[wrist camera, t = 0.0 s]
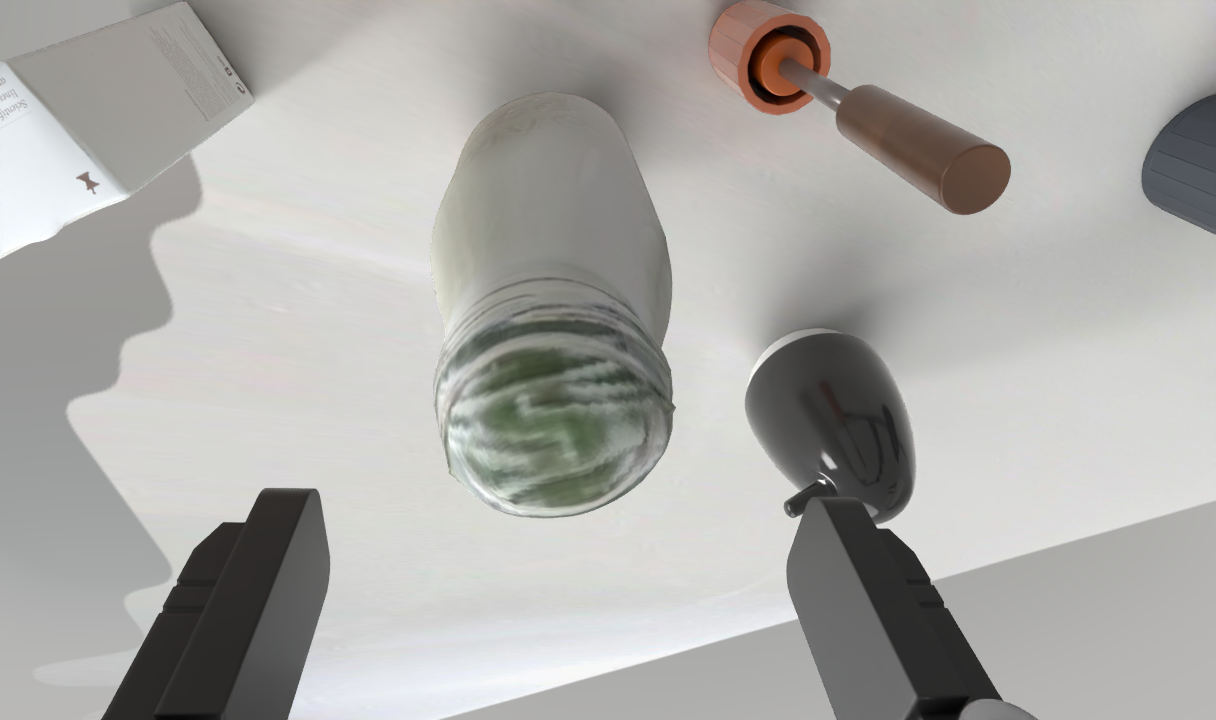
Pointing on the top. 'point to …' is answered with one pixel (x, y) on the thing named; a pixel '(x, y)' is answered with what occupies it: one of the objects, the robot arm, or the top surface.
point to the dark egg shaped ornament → (833, 421)
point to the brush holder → (741, 35)
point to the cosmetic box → (106, 117)
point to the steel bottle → (1185, 166)
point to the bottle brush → (891, 129)
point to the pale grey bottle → (551, 312)
